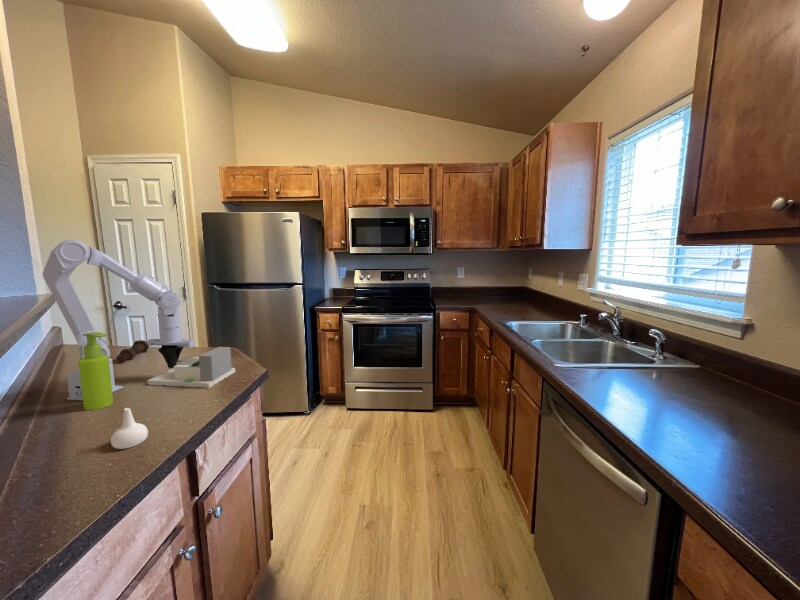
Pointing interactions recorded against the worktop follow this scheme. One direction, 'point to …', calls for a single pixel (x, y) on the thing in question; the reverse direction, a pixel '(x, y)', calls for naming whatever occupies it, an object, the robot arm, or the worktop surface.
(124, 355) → the bolt
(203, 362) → the architectural block model
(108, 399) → the soap dispenser
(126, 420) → the garlic bulb
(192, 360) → the grey block with bar
